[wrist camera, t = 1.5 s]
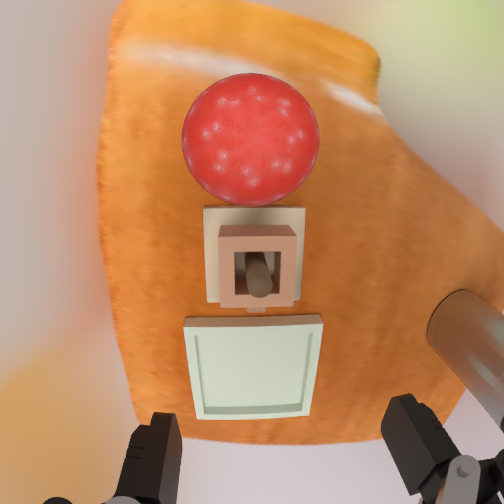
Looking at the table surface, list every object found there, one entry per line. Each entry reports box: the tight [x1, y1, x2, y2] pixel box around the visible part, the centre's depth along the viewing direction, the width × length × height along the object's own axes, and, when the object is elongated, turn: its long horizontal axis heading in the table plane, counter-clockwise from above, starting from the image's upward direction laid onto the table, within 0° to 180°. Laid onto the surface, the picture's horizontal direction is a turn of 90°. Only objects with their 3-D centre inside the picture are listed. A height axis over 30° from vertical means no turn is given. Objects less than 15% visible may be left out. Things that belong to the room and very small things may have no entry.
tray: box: [183, 314, 323, 420], centre depth 32 cm, size 14×14×2 cm
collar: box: [218, 225, 297, 312], centre depth 26 cm, size 6×7×4 cm
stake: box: [203, 205, 306, 302], centre depth 25 cm, size 9×9×8 cm
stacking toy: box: [182, 73, 319, 206], centre depth 17 cm, size 8×8×19 cm
